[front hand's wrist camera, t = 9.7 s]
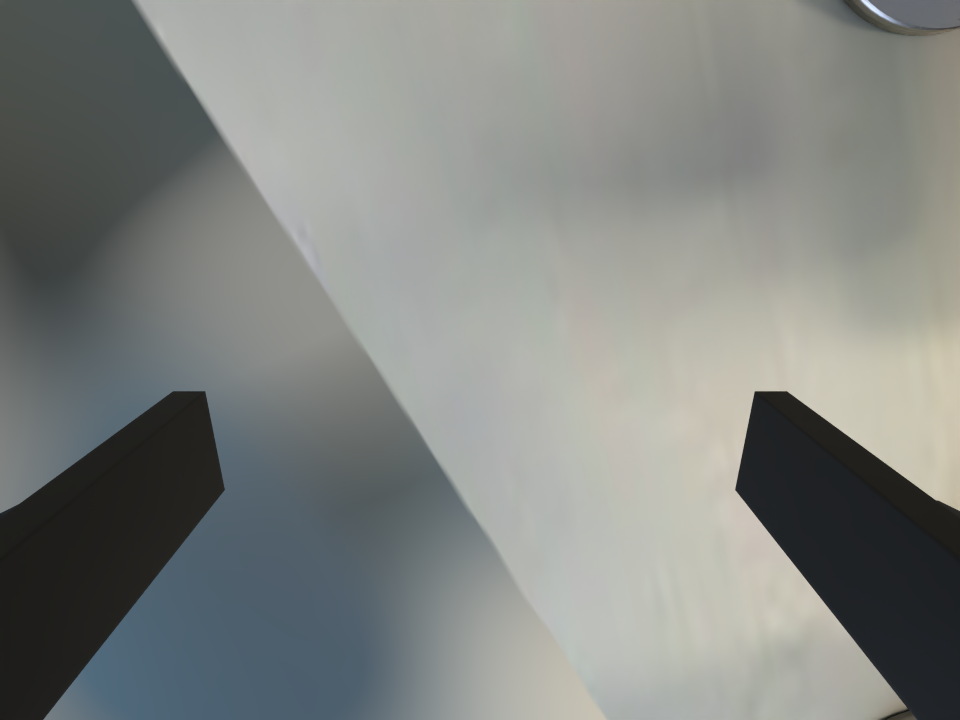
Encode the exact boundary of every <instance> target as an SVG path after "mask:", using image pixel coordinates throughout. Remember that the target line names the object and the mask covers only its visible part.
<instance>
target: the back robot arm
mask: <svg viewBox="0 0 960 720" xmlns="http://www.w3.org/2000/svg"><path fill="white" fill-rule="evenodd" d="M887 720H917V719H916V718H915V717H914V715H913V714H912V713H911V712H910V711H908V712H904V713H901V714H898V715H896V716H893V717H891V718H889V719H887Z"/></svg>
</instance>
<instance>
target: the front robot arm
mask: <svg viewBox="0 0 960 720" xmlns="http://www.w3.org/2000/svg"><path fill="white" fill-rule="evenodd" d="M844 1H845V2H846V3H847V5H848V6H849V7H850V8H851V9H852V10H853V11H854V12H855V13H857V14H858V15H859V16H860V17H862V18H863V19H864V20H866V21H867V22H869V23H871V24H873V25H875V26H877V27H879V28H881V29H884V30H887V31H890V32H894V33H898V34H905V35H930V34H938V33H942V32H947V31H951V30H954V29H958V28H960V0H844ZM224 490H225V489H224V484H223V479H222V474H221V469H220V464H219V459H218V454H217V449H216V444H215V438H214V434H213V428H212V423H211V418H210V413H209V408H208V403H207V398H206V393H205V391H173V392H172V393H170V394H169V395H168V396H166V397H165V398H163V399H162V400H161V401H159V402H158V403H157V404H155V405H154V406H153V407H151V408H150V409H149V410H147V411H146V412H144V413H143V414H142V415H140V416H139V417H138V418H136V419H135V420H133V421H132V422H131V423H129V424H128V425H127V426H125V427H124V428H123V429H121V430H120V431H118V432H117V433H116V434H114V435H113V436H112V437H110V438H109V439H108V440H106V441H105V442H103V443H102V444H101V445H99V446H98V447H97V448H95V449H94V450H92V451H91V452H90V453H88V454H87V455H86V456H84V457H83V458H82V459H80V460H79V461H77V462H76V463H75V464H73V465H72V466H71V467H69V468H68V469H67V470H65V471H64V472H63V473H61V474H60V475H58V476H57V477H56V478H54V479H53V480H52V481H50V482H49V483H47V484H46V485H45V486H43V487H42V488H41V489H39V490H38V491H37V492H35V493H34V494H32V495H31V496H30V497H28V498H27V499H26V500H24V501H23V502H21V503H20V504H18V505H16V506H14V507H12V508H10V509H8V510H6V511H4V512H2V513H0V720H43V719H44V718H45V717H46V715H47V714H48V713H49V712H50V710H51V709H52V708H53V707H54V705H55V704H56V703H57V701H58V700H59V699H60V698H61V696H62V695H63V694H64V693H65V691H66V690H67V689H68V687H69V686H70V685H71V684H72V682H73V681H74V680H75V679H76V677H77V676H78V675H79V674H80V672H81V671H82V670H83V669H84V667H85V666H86V665H87V663H88V662H89V661H90V660H91V658H92V657H93V656H94V655H95V653H96V652H97V651H98V650H99V648H100V647H101V646H102V644H103V643H104V642H105V641H106V639H107V638H108V637H109V636H110V634H111V633H112V632H113V631H114V629H115V628H116V627H117V626H118V624H119V623H120V622H121V620H122V619H123V618H124V617H125V615H126V614H127V613H128V612H129V610H130V609H131V608H132V606H133V605H134V604H135V603H136V601H137V600H138V599H139V598H140V596H141V595H142V594H143V593H144V591H145V590H146V589H147V588H148V586H149V585H150V584H151V582H152V581H153V580H154V579H155V577H156V576H157V575H158V574H159V572H160V571H161V570H162V569H163V567H164V566H165V565H166V563H167V562H168V561H169V560H170V558H171V557H172V556H173V555H174V553H175V552H176V551H177V550H178V548H179V547H180V546H181V544H182V543H183V542H184V541H185V539H186V538H187V537H188V536H189V534H190V533H191V532H192V531H193V529H194V528H195V527H196V525H197V524H198V523H199V522H200V520H201V519H202V518H203V517H204V515H205V514H206V513H207V512H208V510H209V509H210V508H211V506H212V505H213V504H214V503H215V501H216V500H217V499H218V498H219V496H220V495H221V494H222V493H223V491H224ZM735 490H736V491H737V493H738V494H739V495H740V496H741V498H742V499H743V500H744V501H745V503H746V504H747V505H748V507H749V508H750V509H751V510H752V512H753V513H754V514H755V515H756V517H757V518H758V519H759V520H760V522H761V523H762V524H763V526H764V527H765V528H766V529H767V531H768V532H769V533H770V534H771V536H772V537H773V538H774V539H775V541H776V542H777V543H778V545H779V546H780V547H781V548H782V550H783V551H784V552H785V553H786V555H787V556H788V557H789V558H790V560H791V561H792V562H793V563H794V565H795V566H796V567H797V569H798V570H799V571H800V572H801V574H802V575H803V576H804V577H805V579H806V580H807V581H808V582H809V584H810V585H811V586H812V588H813V589H814V590H815V591H816V593H817V594H818V595H819V596H820V598H821V599H822V600H823V601H824V603H825V604H826V605H827V607H828V608H829V609H830V610H831V612H832V613H833V614H834V615H835V617H836V618H837V619H838V620H839V622H840V623H841V624H842V626H843V627H844V628H845V629H846V631H847V632H848V633H849V634H850V636H851V637H852V638H853V639H854V641H855V642H856V643H857V644H858V646H859V647H860V648H861V650H862V651H863V652H864V653H865V655H866V656H867V657H868V658H869V660H870V661H871V662H872V663H873V665H874V666H875V667H876V669H877V670H878V671H879V672H880V674H881V675H882V676H883V677H884V679H885V680H886V681H887V682H888V684H889V685H890V686H891V688H892V689H893V690H894V691H895V693H896V694H897V695H898V696H899V698H900V699H901V700H902V701H903V703H904V704H905V705H906V707H907V708H908V709H909V710H910V712H911V713H912V714H913V715H914V717H915V718H916V719H917V720H960V511H958V510H956V509H954V508H952V507H950V506H948V505H946V504H944V503H942V502H940V501H936V500H934V499H933V498H932V497H930V496H929V495H928V494H926V493H925V492H924V491H922V490H921V489H919V488H918V487H917V486H915V485H914V484H913V483H911V482H910V481H908V480H907V479H906V478H904V477H903V476H902V475H900V474H899V473H898V472H896V471H895V470H893V469H892V468H891V467H889V466H888V465H887V464H885V463H884V462H883V461H881V460H880V459H878V458H877V457H876V456H874V455H873V454H872V453H870V452H869V451H868V450H866V449H865V448H863V447H862V446H861V445H859V444H858V443H857V442H855V441H854V440H853V439H851V438H850V437H848V436H847V435H846V434H844V433H843V432H842V431H840V430H839V429H837V428H836V427H835V426H833V425H832V424H831V423H829V422H828V421H827V420H825V419H824V418H822V417H821V416H820V415H818V414H817V413H816V412H814V411H813V410H812V409H810V408H809V407H807V406H806V405H805V404H803V403H802V402H801V401H799V400H798V399H797V398H795V397H794V396H792V395H791V394H790V393H788V392H787V391H755V393H754V398H753V403H752V408H751V413H750V418H749V423H748V428H747V433H746V438H745V443H744V449H743V454H742V459H741V464H740V469H739V474H738V479H737V484H736V489H735Z"/></svg>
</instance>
